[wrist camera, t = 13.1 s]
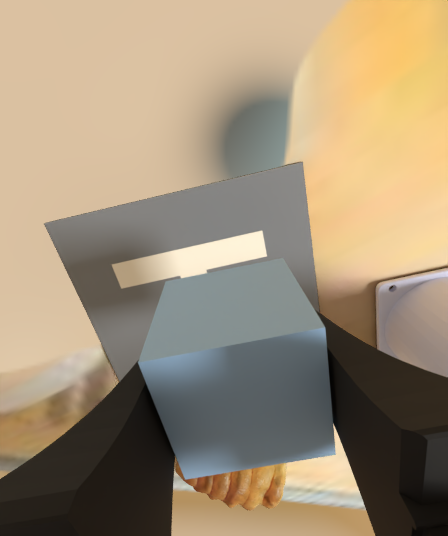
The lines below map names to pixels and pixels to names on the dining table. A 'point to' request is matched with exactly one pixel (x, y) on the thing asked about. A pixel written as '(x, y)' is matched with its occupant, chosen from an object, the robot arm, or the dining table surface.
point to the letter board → (181, 248)
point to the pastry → (243, 486)
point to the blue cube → (239, 370)
